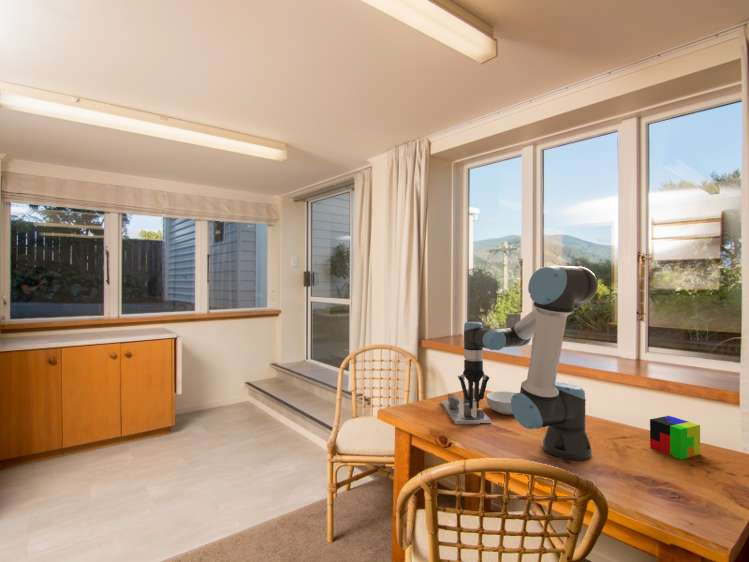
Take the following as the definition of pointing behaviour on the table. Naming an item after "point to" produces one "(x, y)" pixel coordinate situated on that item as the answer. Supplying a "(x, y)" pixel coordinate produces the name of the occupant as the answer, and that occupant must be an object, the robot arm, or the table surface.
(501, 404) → the cereal bowl
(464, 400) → the knob
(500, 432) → the table surface
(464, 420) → the level plate
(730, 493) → the table surface
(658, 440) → the puzzle toy
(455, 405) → the knob
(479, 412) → the knob
